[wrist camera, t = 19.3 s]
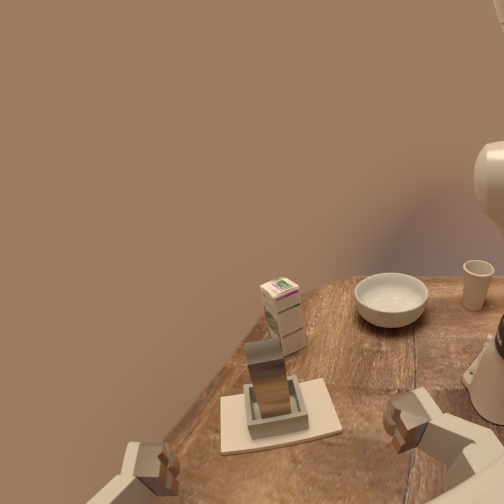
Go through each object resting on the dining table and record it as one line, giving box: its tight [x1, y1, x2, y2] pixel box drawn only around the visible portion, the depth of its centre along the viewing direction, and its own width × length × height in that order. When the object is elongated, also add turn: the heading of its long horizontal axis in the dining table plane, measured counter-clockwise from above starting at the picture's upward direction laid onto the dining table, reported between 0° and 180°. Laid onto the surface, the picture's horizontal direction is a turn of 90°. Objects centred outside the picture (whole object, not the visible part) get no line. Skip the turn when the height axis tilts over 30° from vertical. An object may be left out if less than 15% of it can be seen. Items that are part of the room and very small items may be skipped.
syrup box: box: [260, 277, 306, 357], centre depth 56 cm, size 6×6×14 cm
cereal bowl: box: [354, 273, 428, 328], centre depth 59 cm, size 17×17×7 cm
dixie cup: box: [463, 260, 494, 311], centre depth 53 cm, size 8×8×10 cm
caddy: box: [221, 375, 342, 455], centre depth 40 cm, size 12×18×5 cm, turn 95°
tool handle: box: [245, 337, 292, 419], centre depth 39 cm, size 4×4×14 cm
